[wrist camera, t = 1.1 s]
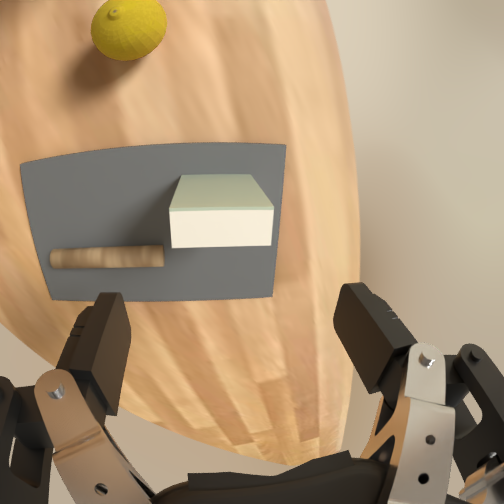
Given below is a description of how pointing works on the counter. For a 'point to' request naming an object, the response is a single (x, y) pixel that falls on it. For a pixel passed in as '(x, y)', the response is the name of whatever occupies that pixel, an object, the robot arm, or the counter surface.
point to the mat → (147, 220)
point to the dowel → (108, 257)
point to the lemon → (128, 28)
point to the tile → (220, 212)
